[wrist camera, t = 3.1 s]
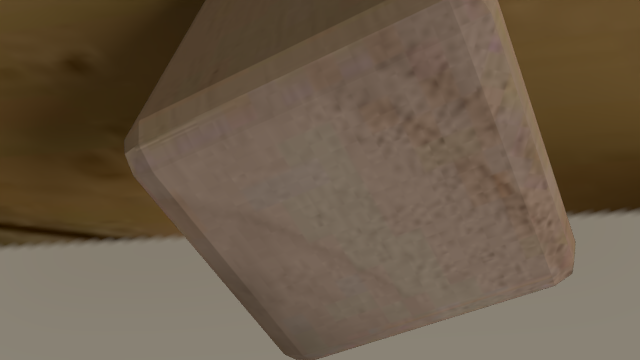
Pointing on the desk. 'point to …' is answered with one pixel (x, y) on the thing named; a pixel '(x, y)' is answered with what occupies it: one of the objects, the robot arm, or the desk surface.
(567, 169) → the desk surface
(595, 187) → the desk surface
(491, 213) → the wooden block
